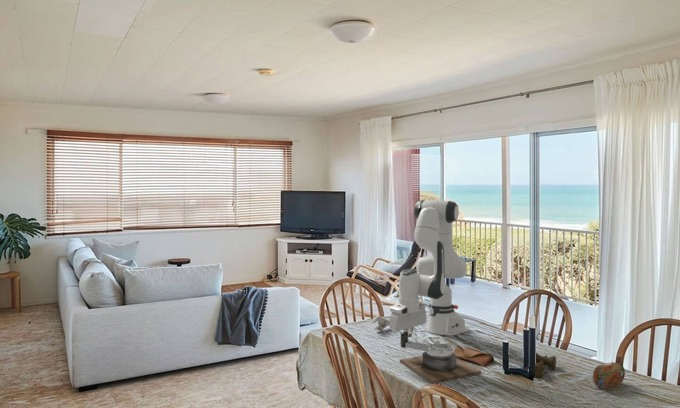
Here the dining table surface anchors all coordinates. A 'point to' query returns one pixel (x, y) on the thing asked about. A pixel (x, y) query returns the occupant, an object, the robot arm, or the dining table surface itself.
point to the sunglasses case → (473, 356)
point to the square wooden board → (439, 368)
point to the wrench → (381, 323)
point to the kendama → (543, 361)
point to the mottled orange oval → (608, 375)
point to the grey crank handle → (429, 348)
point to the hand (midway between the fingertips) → (408, 337)
